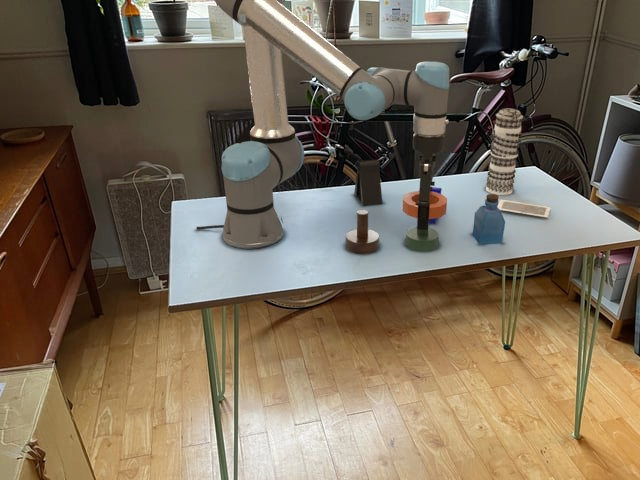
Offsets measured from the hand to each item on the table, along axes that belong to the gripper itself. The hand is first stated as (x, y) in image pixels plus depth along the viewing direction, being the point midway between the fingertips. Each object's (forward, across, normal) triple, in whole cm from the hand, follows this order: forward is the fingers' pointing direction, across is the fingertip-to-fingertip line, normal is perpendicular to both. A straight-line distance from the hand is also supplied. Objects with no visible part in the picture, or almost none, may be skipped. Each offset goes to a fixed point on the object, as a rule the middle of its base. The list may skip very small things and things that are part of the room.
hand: (423, 219), depth 147 cm
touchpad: (+7, +26, -28) cm, 39 cm away
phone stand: (+7, +27, +18) cm, 33 cm away
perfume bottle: (+7, +6, -17) cm, 19 cm away
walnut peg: (+7, -4, +15) cm, 17 cm away
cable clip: (+7, +19, -1) cm, 20 cm away
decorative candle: (+7, +42, -22) cm, 48 cm away
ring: (-3, 0, 0) cm, 3 cm away
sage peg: (+7, 0, 0) cm, 7 cm away
